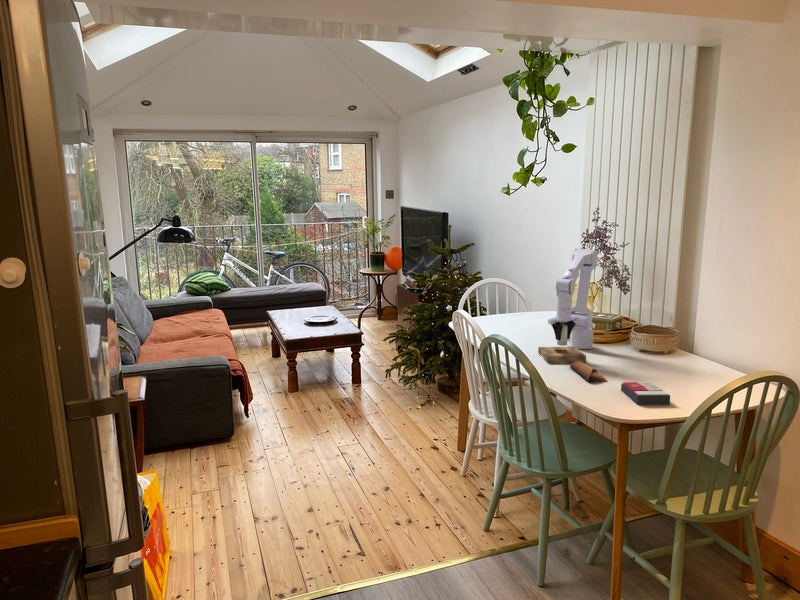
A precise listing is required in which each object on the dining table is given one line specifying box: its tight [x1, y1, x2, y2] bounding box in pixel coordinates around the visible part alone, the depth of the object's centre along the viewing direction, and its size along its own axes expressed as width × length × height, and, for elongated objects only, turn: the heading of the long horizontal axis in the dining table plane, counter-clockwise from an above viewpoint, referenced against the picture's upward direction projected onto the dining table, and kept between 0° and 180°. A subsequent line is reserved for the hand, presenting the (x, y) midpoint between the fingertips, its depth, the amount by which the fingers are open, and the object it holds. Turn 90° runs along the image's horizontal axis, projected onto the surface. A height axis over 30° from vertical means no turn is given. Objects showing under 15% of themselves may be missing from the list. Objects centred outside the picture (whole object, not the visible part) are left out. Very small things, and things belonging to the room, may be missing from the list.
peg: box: [556, 324, 568, 347], centre depth 254 cm, size 4×4×8 cm
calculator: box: [620, 381, 671, 406], centre depth 209 cm, size 11×4×15 cm
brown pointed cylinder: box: [569, 361, 609, 384], centre depth 233 cm, size 18×7×7 cm, turn 7°
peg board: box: [537, 346, 587, 364], centre depth 255 cm, size 16×14×3 cm
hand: (562, 339), depth 254 cm, fingers closed on peg, 4 cm apart
